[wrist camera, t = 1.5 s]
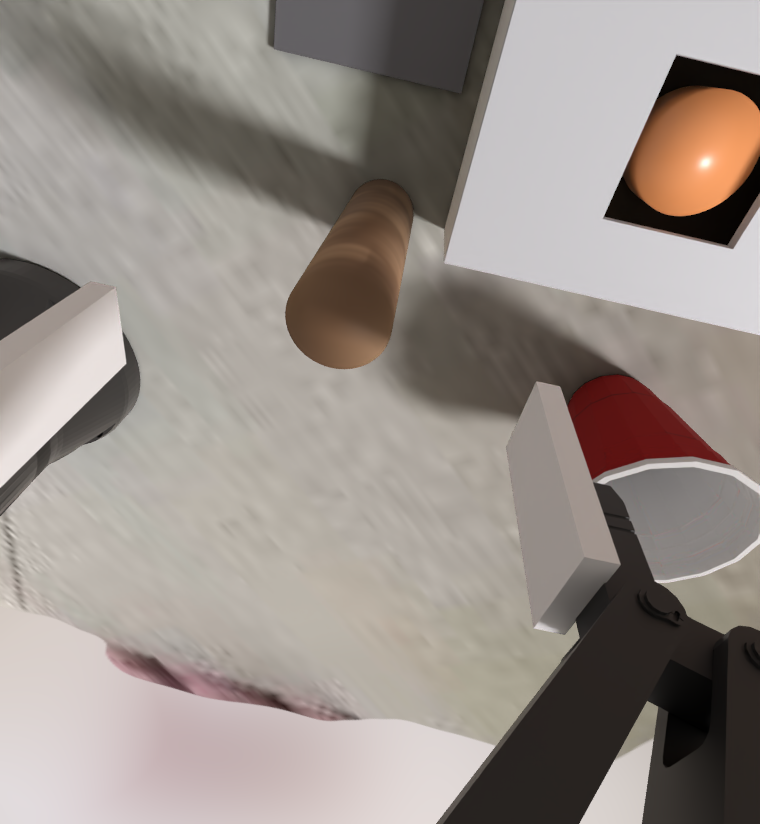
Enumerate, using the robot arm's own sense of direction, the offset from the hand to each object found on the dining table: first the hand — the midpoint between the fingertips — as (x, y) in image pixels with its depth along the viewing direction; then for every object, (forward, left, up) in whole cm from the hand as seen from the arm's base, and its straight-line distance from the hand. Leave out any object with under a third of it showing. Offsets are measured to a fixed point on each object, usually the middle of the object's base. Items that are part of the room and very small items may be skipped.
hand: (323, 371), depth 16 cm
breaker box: (+14, +7, -18) cm, 24 cm away
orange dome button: (+14, +7, -16) cm, 22 cm away
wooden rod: (0, 0, -18) cm, 18 cm away
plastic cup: (+19, -10, -19) cm, 28 cm away
